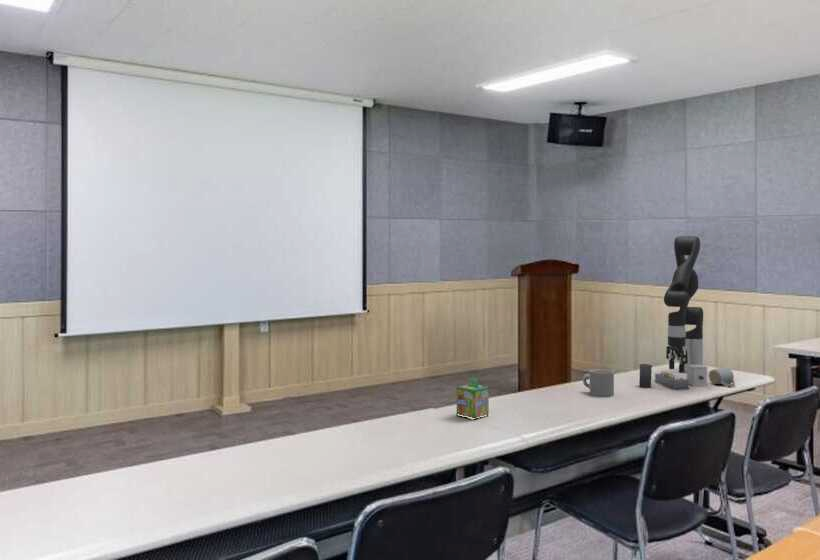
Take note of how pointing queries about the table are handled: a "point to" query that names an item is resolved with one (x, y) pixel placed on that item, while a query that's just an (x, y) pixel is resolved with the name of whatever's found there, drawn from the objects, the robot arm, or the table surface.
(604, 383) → the coffee mug
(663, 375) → the breaker strip
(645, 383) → the dark grey upright block
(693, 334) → the robot arm
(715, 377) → the ceramic mug
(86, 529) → the table surface
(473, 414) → the chalk box
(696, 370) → the junction box
